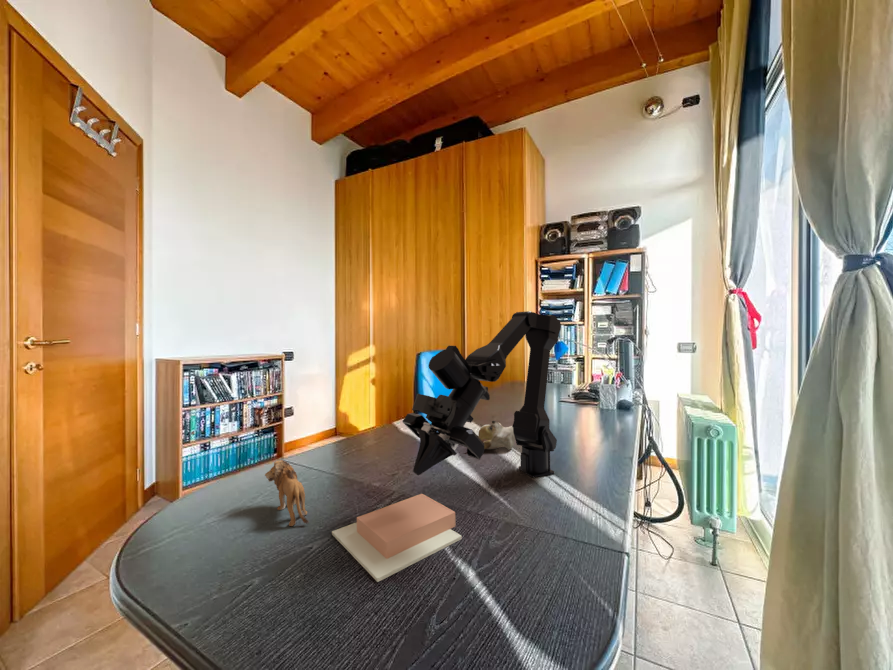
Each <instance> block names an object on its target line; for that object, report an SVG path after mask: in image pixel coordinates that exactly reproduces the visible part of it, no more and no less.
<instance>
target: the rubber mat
mask: <svg viewBox="0 0 893 670" xmlns="http://www.w3.org/2000/svg"><path fill="white" fill-rule="evenodd" d="M331 535H332V536H333V538H335V540H337V541H338V542H339V544H341V545H342V547H343V548H345V550H346V551H347V552H348V553H349V554H350V555H351V556H352V558H354V559H355V560H356V561H357V563H358V564H359V565H361V566H362V567H363V569H364V570H365V571H366V572H367V573H368V574H369V575H370V576H371V577H372V578H373V579H374V580H375V582H377V583H379V582H381V581H383V580H385V579H387V578H388V577H391V576H393V575H394V574H396V573H399V572H400V571H402V570H404V569H406V568H408V567H410V566H411V565H414V564H416V563H418V562H420V561H421V560H423V559H426V558H428V557H429V556H431V555H434V554H435V553H437V552H440V551H442V550H443V549H445V548H448V546H451V545H453V544H454V543H456V542H459V541H461V540H462V538H463V537H462V536H463V535H461V534H459V533H458V532H456V531H454V530H453V529H452V528H451V529H449V530H447V531H444V532H442V533H440V534H438V535H436V536H434V537H432V538H430V539H428V540H426V541H423V542H421V543H419V544H417V545H415V546H413V547H411V548H409V549H407V550H404V551H402V552H400V553H398V554H396V555H394V556H392V557H390V558H388V559H386V558H385V557H384V556H383V555H382V554H381V553H380V552H379V551H377V550H376V549H375V548H374V547H373V546H372V545H371V544H370V543H369V542H368V541H366V540H365V539H364V538H363V537H362V536H361V535H360V534H359V533H358V532H357V521H356V522H354V523H351V524H349V525H345V526H342V527H340V528H338V529H334V530H332V531H331Z"/></svg>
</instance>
